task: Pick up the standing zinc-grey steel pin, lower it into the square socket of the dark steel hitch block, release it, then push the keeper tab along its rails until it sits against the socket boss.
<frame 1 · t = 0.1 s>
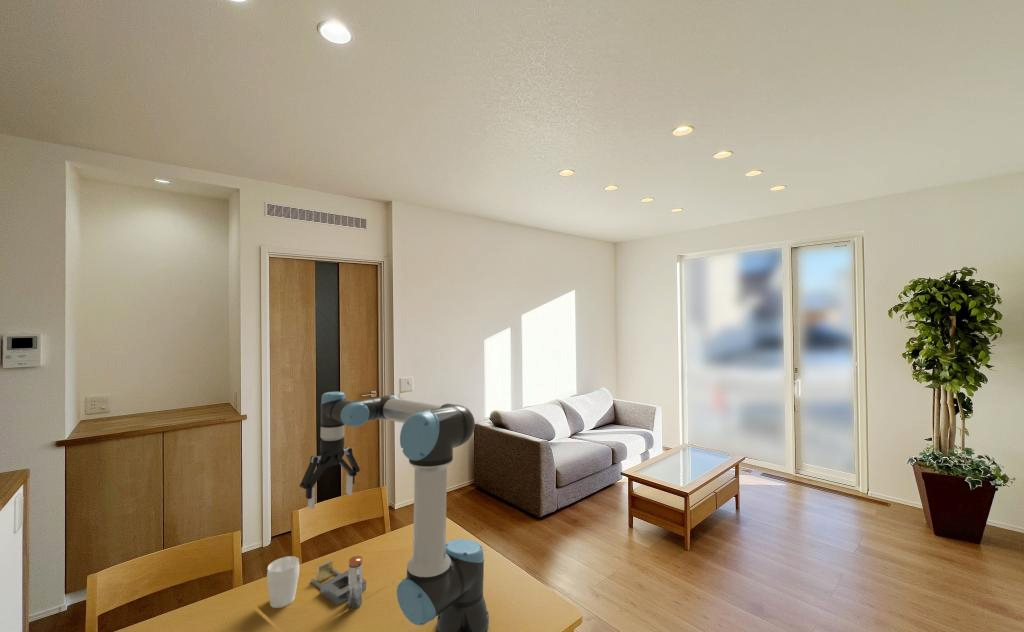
hand: (330, 500, 138), 28 cm above the table, fingers open, 13 cm apart
cup: (282, 603, 128), on the table
keeper: (324, 570, 140), point 3 cm above the table, slide at 0.0 cm
hitch block: (339, 586, 136), on the table
pin: (354, 604, 127), on the table
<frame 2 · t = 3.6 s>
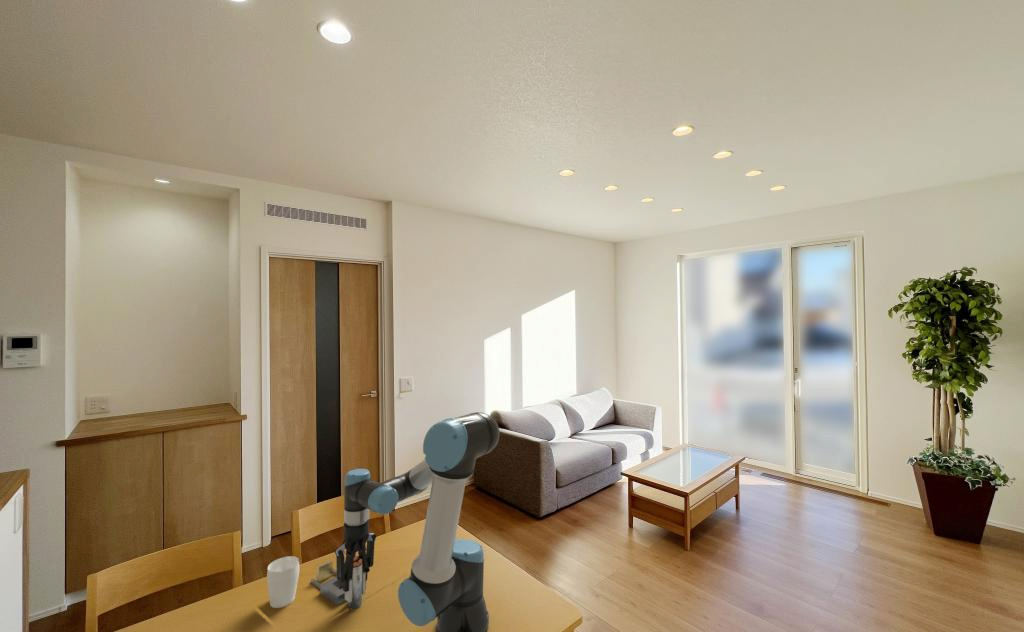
hand: (355, 596, 127), 3 cm above the table, fingers closed on pin, 4 cm apart
pin: (354, 604, 127), on the table, touching gripper
everything else where it was.
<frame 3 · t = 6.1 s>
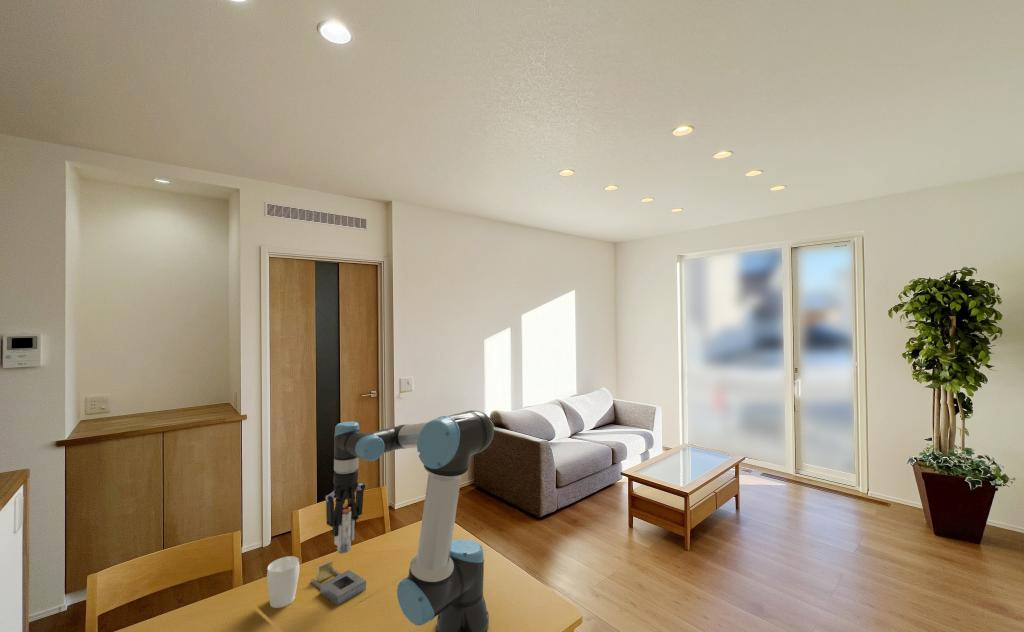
hand: (344, 541, 133), 16 cm above the table, fingers closed on pin, 4 cm apart
pin: (344, 549, 133), point 14 cm above the table, touching gripper
everything else where it was.
when the fingers open (5 cm above the table, at t = 8.6 s): pin drops 1 cm, resting on hitch block.
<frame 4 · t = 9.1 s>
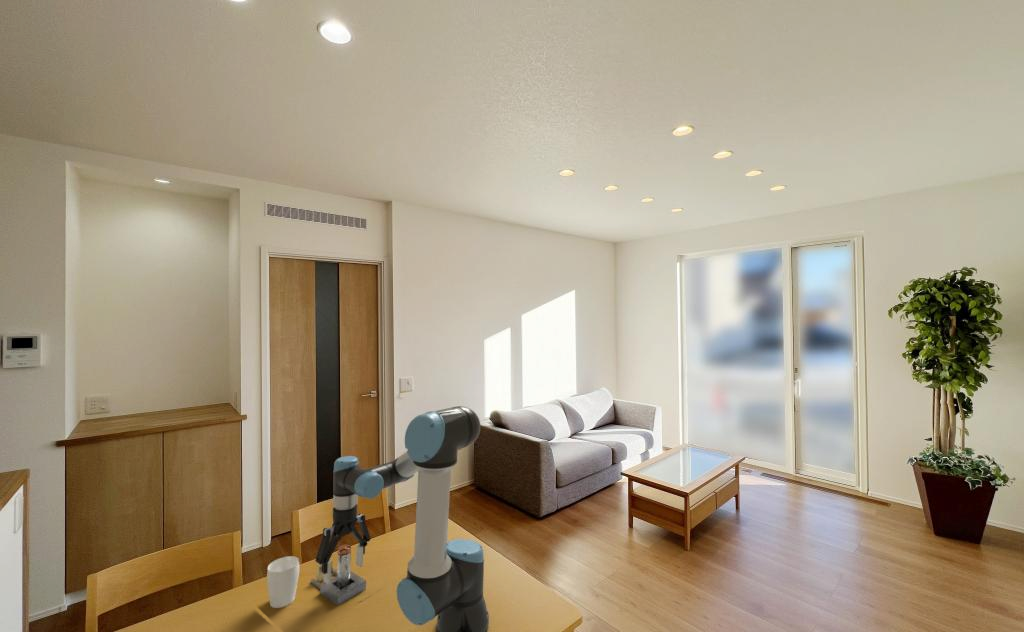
hand: (343, 573, 133), 6 cm above the table, fingers open, 11 cm apart
pin: (343, 591, 133), point 1 cm above the table, touching hitch block
everything else where it was.
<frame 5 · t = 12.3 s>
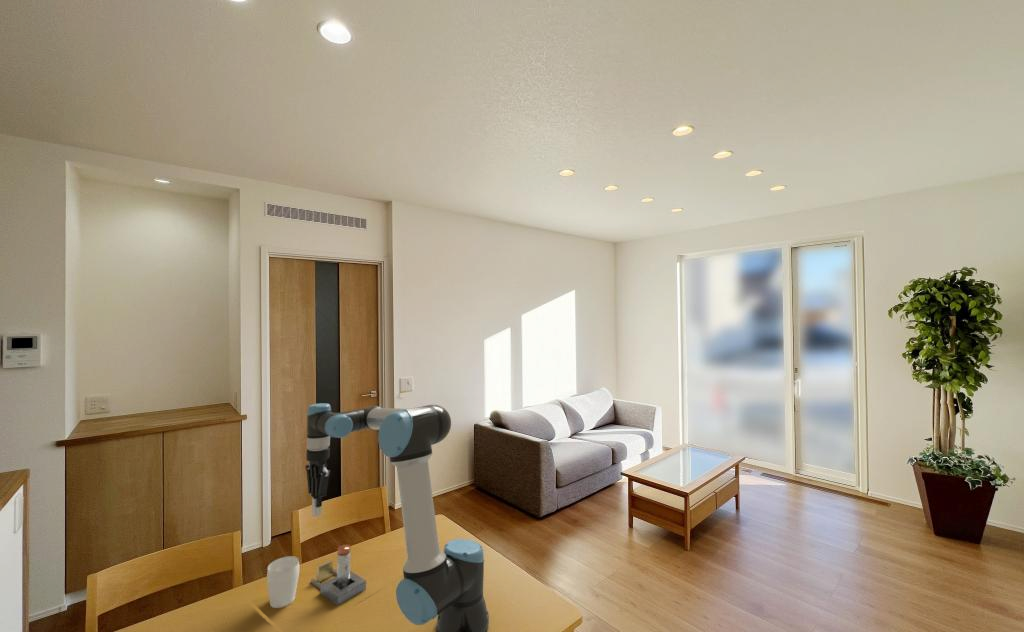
hand: (316, 515, 144), 20 cm above the table, fingers closed
nothing on the table moved.
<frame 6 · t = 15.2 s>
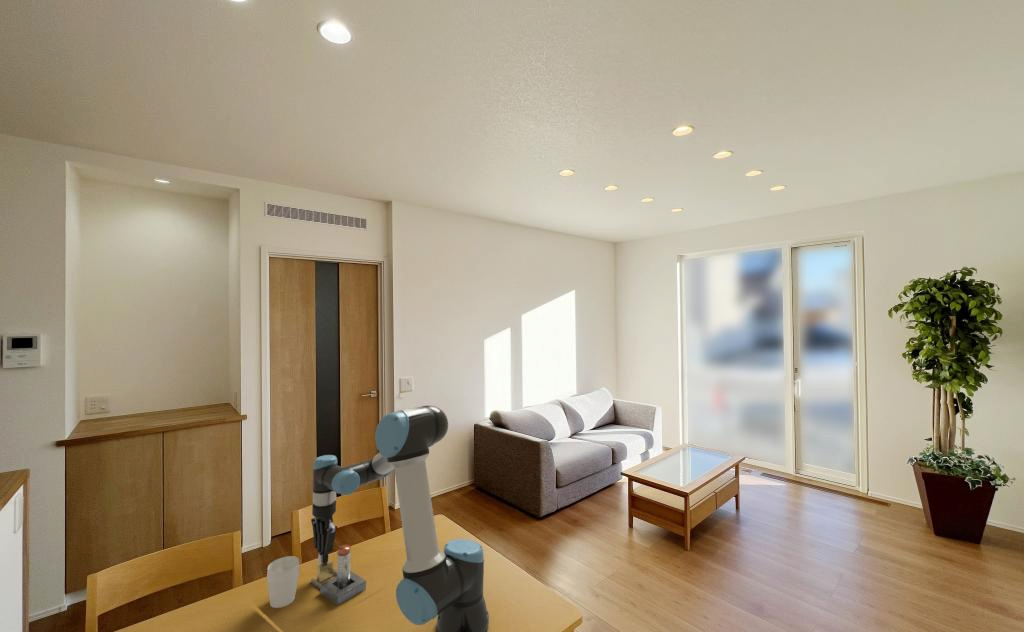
hand: (322, 571, 140), 3 cm above the table, fingers closed
keeper: (325, 571, 139), point 3 cm above the table, slide at 0.5 cm, touching gripper
everything else where it was.
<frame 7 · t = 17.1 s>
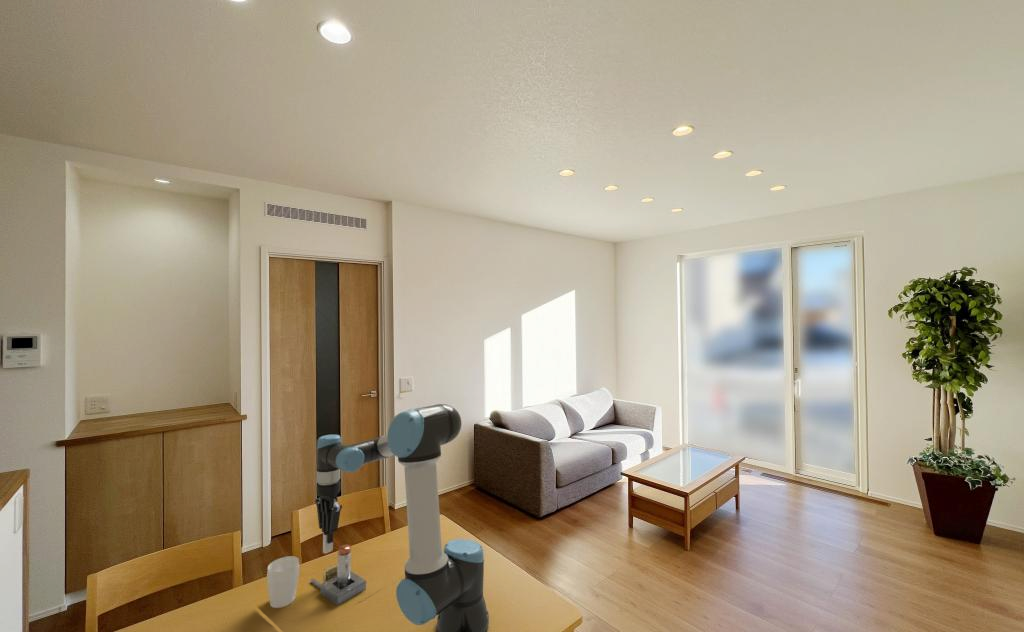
hand: (327, 551, 139), 10 cm above the table, fingers closed
keeper: (331, 575, 137), point 3 cm above the table, slide at 4.2 cm
everything else where it was.
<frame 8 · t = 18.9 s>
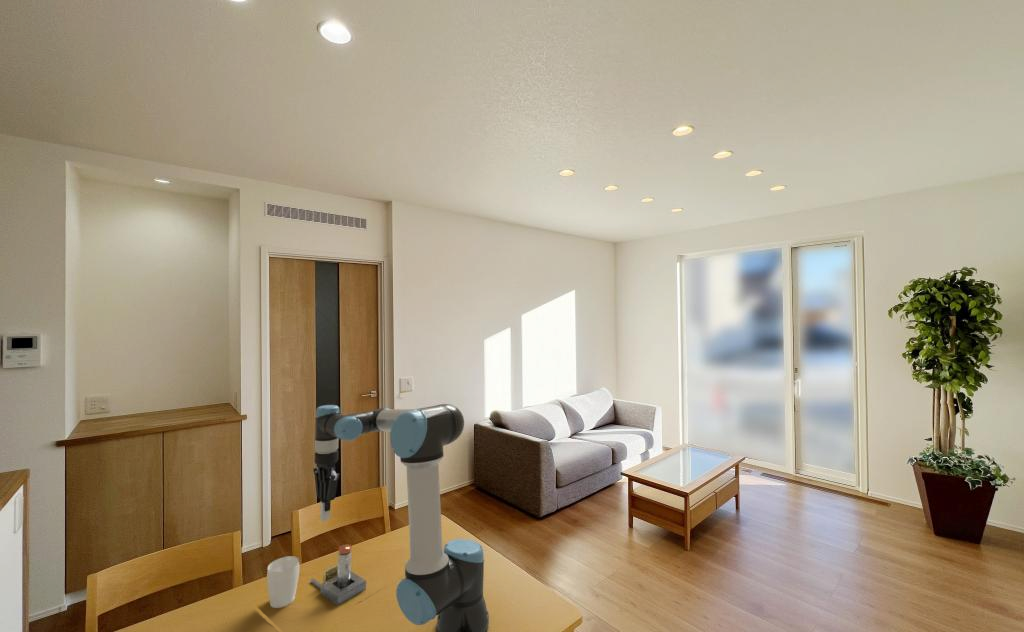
hand: (325, 519, 141), 20 cm above the table, fingers closed
nothing on the table moved.
at the end: pin 0.1 cm from the target spot on the hitch block, point 0.6 cm above the hitch block's base; pin tilted 1°; keeper slide at 4.2 cm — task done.
